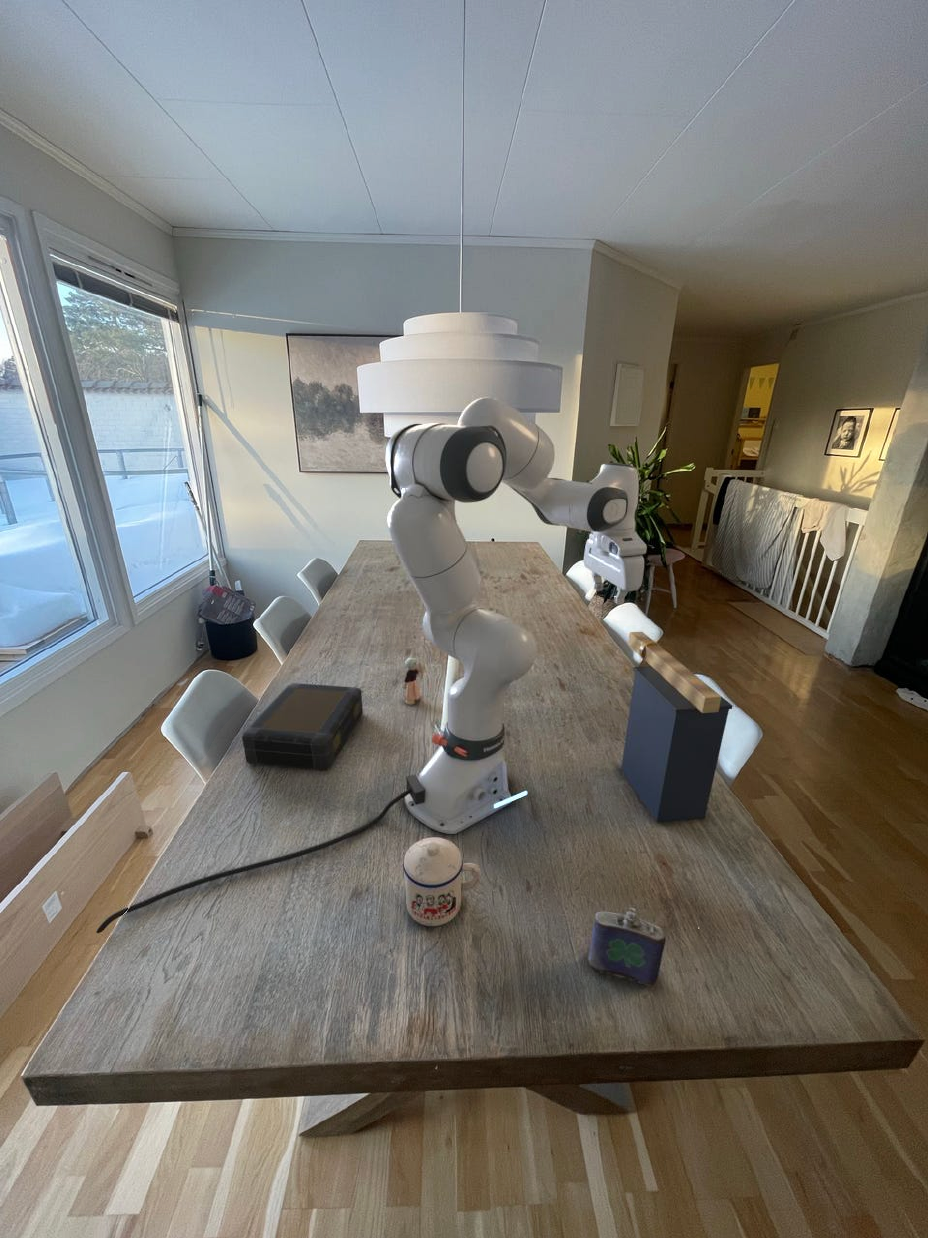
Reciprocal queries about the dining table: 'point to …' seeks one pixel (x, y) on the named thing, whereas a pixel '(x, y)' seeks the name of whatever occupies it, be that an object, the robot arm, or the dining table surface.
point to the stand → (671, 748)
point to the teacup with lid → (435, 880)
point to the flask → (626, 946)
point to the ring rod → (675, 673)
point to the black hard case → (304, 727)
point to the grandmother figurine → (411, 681)
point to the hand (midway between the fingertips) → (608, 596)
